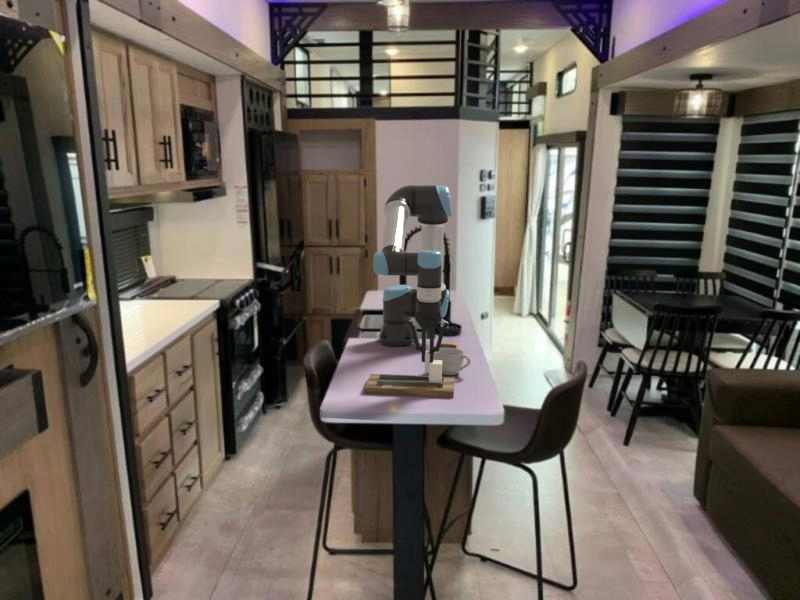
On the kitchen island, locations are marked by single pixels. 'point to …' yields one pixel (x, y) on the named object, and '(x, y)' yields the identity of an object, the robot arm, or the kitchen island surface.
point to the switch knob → (435, 371)
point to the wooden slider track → (409, 385)
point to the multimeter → (448, 345)
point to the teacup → (451, 360)
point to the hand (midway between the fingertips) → (427, 371)
